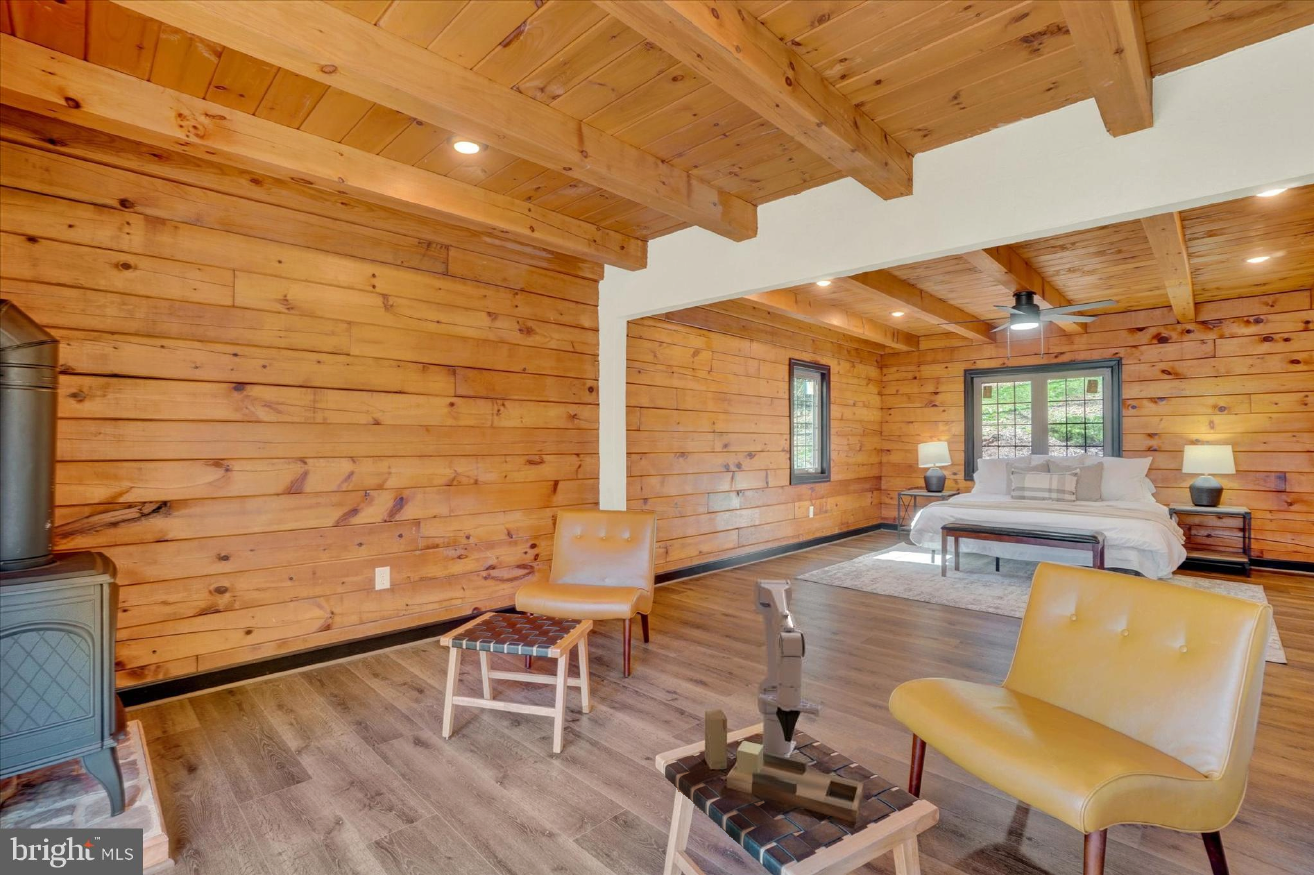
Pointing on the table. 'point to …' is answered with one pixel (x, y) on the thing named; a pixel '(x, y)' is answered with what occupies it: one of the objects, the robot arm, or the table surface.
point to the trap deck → (800, 787)
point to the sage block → (749, 757)
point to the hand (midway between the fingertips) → (788, 739)
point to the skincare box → (716, 739)
